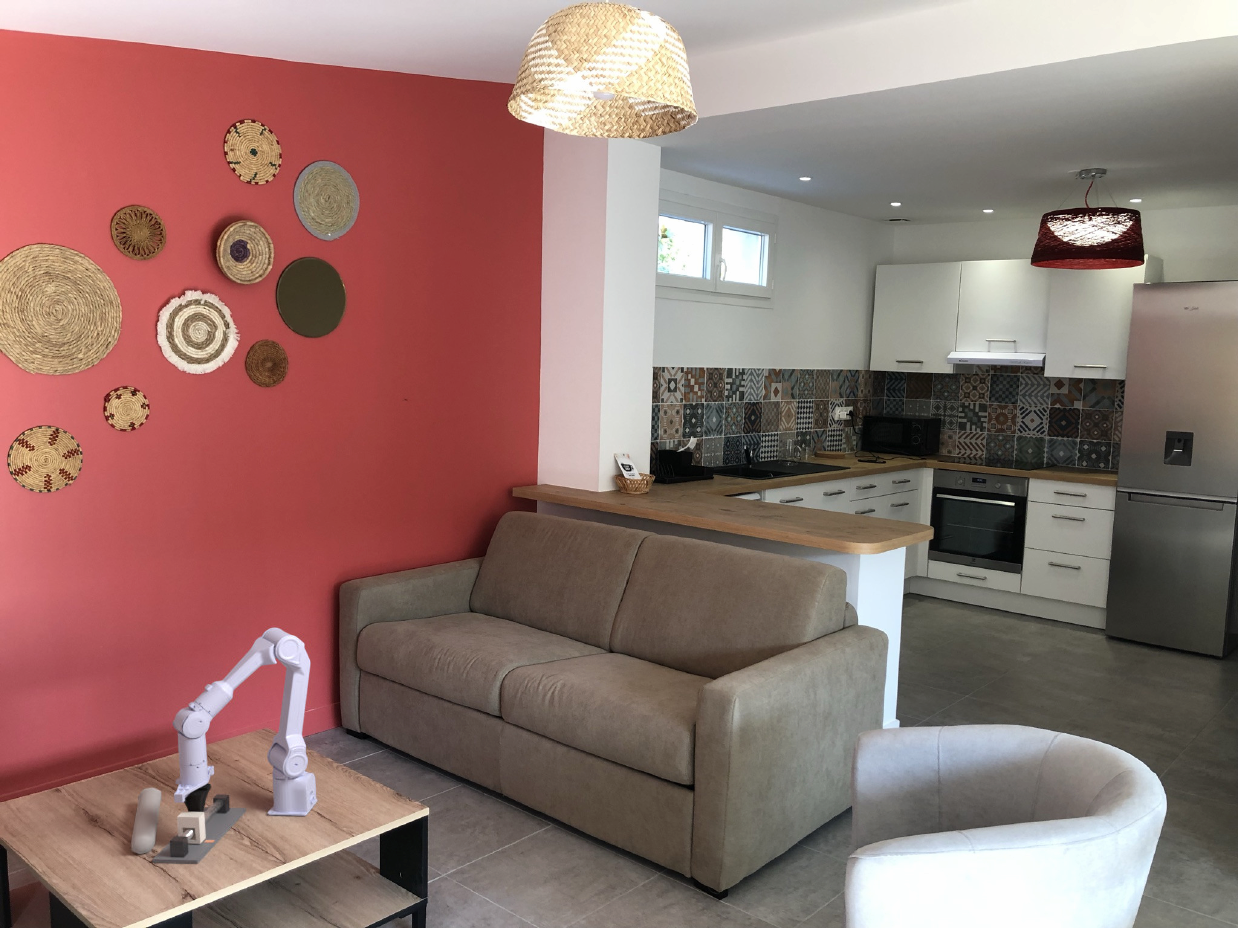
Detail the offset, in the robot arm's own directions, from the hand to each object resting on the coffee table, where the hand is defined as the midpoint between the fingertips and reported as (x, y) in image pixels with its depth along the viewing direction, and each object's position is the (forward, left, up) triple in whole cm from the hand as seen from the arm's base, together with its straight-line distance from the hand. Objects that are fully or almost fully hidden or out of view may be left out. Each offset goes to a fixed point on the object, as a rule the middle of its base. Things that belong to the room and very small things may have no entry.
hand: (196, 818), depth 220 cm
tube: (+14, -4, -6) cm, 16 cm away
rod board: (0, -2, -5) cm, 5 cm away
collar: (0, +2, -4) cm, 5 cm away
